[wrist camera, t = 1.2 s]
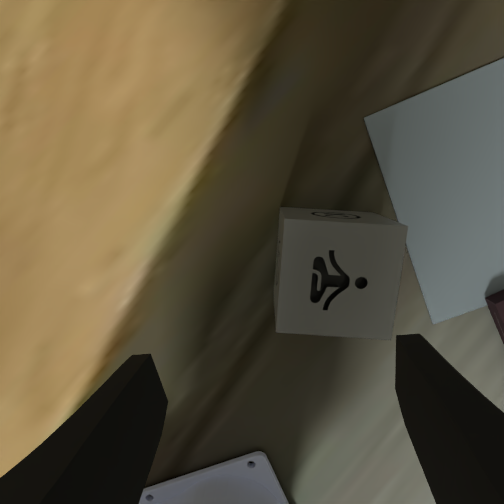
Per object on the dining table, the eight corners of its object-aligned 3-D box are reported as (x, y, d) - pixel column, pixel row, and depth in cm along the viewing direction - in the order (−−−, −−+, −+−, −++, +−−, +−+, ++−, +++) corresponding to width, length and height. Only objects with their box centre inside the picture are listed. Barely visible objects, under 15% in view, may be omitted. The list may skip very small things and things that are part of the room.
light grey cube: (279, 206, 20) (284, 218, 15) (373, 212, 20) (408, 226, 15) (273, 294, 21) (276, 332, 16) (361, 300, 21) (391, 340, 16)
